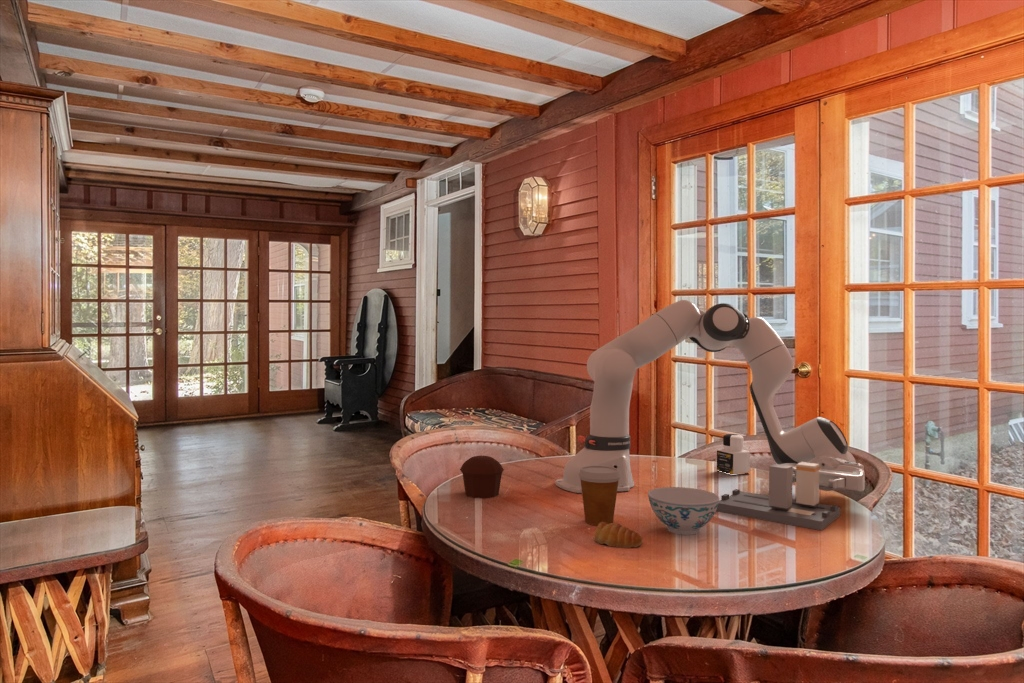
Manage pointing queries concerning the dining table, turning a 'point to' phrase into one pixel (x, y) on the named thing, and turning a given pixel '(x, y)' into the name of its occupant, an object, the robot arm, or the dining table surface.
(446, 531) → the dining table surface
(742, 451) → the medicine bottle
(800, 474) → the block
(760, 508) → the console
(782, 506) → the fader
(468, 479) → the muffin
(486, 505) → the dining table surface
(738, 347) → the robot arm
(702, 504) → the chinaware
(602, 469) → the disposable coffee cup
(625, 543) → the pastry
